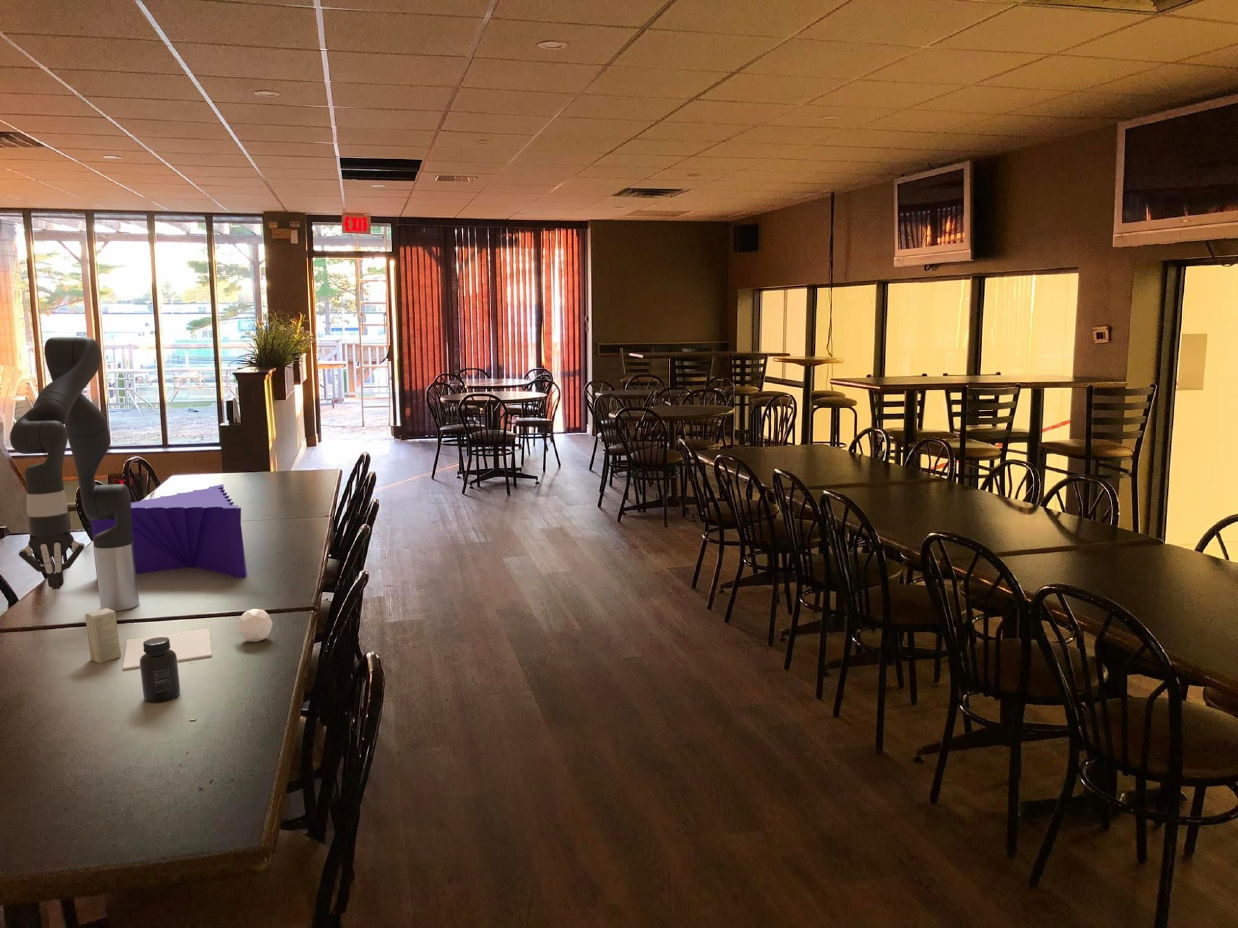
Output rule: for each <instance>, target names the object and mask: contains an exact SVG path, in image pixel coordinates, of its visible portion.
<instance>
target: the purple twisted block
mask: <svg viewBox="0 0 1238 928" xmlns="http://www.w3.org/2000/svg"><path fill="white" fill-rule="evenodd" d="M225 491H226V490H225V489H224V484H222V483H221V484H218V485H213V486H208V488H203V489H193V490H192V491H187V492H177V493H176V494H171V495H163V496H162V495H160V497H156V498H149V499H142V500H140V501H135V502H131V519H132V534H133V545H134V555H135V565H136V574H137V575H138V574H146V573H147V574H148V573H155V572H162V571H168V570H177V569H184V568H195V569H200V570H205V571H209V572H214V573H219V574H222V575H228V576H229V577H231V578H234V579H245V578H246V577H248V570H247V563H246V554H245V546H244V538H243V537H244V536H243V531H242V507H240V506H239V505H237V504H235V505H234V503H235V502H234V501H232V498H229V497H230V495H227V494H228V492H225ZM115 525H116V519H111V520H90V527H91V536H92V540H93V539H94V536H95V535H97V534H98V533H101V532H103V531H106V530H108V529H110V528H112V527H113V526H115ZM92 542H93V541H92ZM92 544H93V547H94V542H93V543H92ZM93 553H94V556H95V550H94V549H93ZM94 563H95V566H96V559H95V558H94ZM95 572H96V575H97V568H96V567H95ZM96 579H97V580H98V578H97V577H96Z"/></svg>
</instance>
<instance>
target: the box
mask: <svg viewBox="0 0 1238 928" xmlns="http://www.w3.org/2000/svg"><path fill="white" fill-rule="evenodd" d="M116 614H117V613H116V611H113V610H110V609H108V608H105V609H101V608H100V609H98V610H94V611H90V612H86V613H85V614H84V615H85V617H84V618H85V625H86V631H87V632H86V633H87V639H88V645H89V646H88V647H89V654H90V659H91V660H92V661H93V662H94V663H97V664H102V663H105V662H108V661H111V660H115V659H117V658H118V659H119V658H121V657H122V653H121V646H120V640H119V639H120V637H119V631H118V622H117V615H116Z"/></svg>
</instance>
